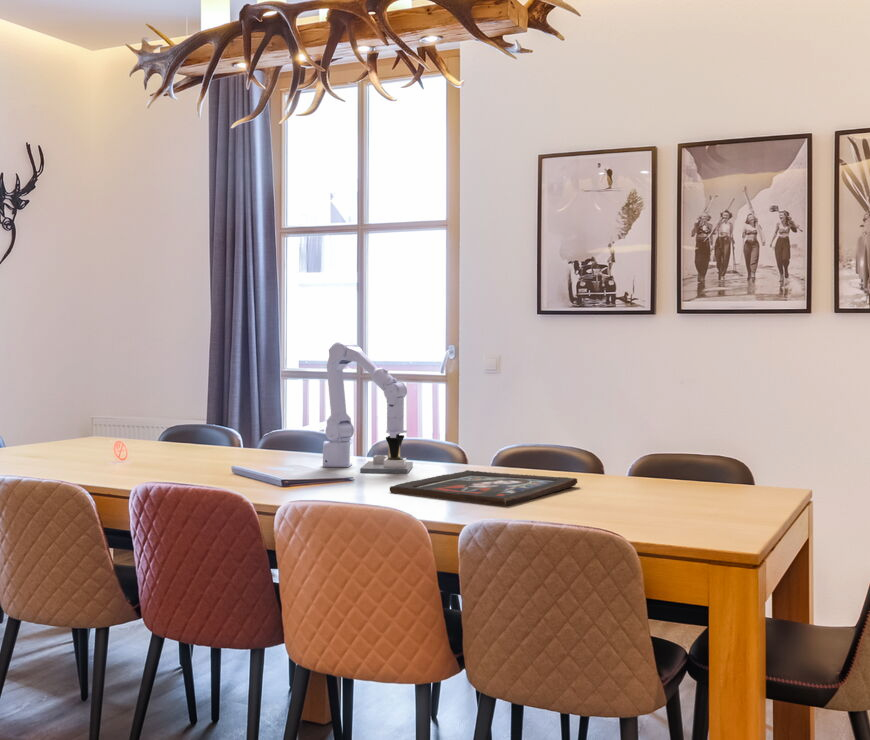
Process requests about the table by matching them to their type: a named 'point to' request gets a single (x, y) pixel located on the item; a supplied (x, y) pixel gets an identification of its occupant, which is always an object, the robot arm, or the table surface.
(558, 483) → the religious icon
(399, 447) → the pipe stub
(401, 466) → the socket plate
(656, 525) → the table surface
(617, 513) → the table surface
